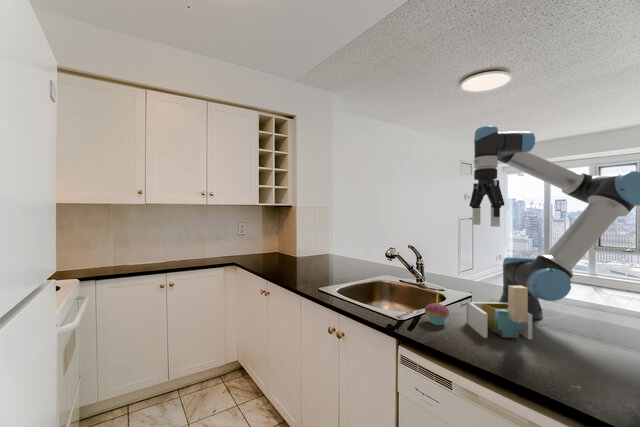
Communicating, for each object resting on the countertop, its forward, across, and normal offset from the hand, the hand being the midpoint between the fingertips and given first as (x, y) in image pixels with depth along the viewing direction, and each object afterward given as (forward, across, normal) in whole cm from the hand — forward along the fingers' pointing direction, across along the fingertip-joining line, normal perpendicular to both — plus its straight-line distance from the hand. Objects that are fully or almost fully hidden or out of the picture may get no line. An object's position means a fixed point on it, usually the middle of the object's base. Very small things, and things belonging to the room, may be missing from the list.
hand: (485, 225), depth 107 cm
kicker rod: (+36, +16, +1) cm, 39 cm away
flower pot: (+37, +9, +1) cm, 38 cm away
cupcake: (+37, +1, -18) cm, 41 cm away
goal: (+37, +7, +1) cm, 37 cm away
